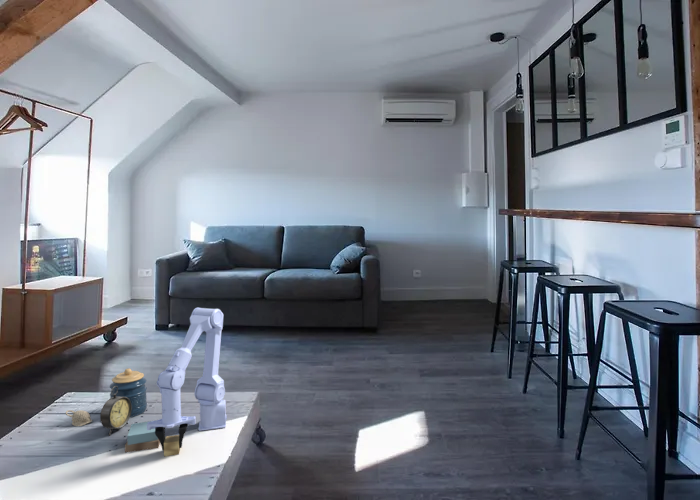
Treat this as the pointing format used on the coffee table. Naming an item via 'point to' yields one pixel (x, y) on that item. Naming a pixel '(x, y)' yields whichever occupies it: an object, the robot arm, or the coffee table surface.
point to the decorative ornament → (79, 417)
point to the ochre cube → (171, 445)
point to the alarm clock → (116, 412)
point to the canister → (131, 389)
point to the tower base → (142, 446)
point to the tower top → (140, 433)
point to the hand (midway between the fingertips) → (172, 447)
